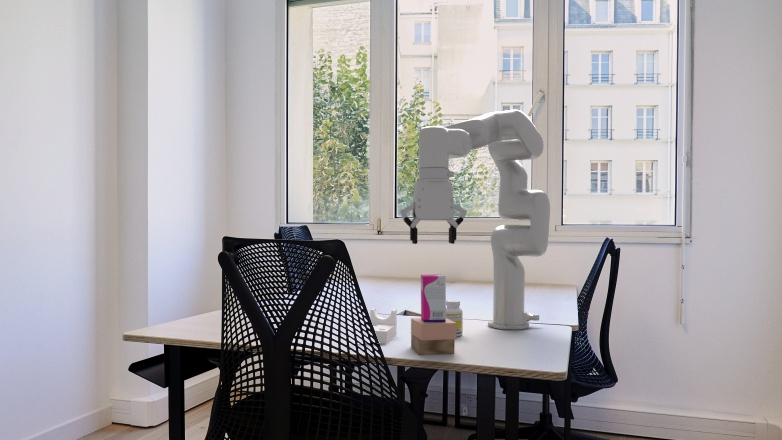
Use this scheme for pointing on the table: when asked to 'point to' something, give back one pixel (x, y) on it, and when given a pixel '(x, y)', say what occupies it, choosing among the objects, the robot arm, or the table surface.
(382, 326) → the bracket
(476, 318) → the table surface
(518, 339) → the table surface
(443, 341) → the tower bottom
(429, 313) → the supplement box
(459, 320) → the supplement bottle
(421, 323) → the tower top
